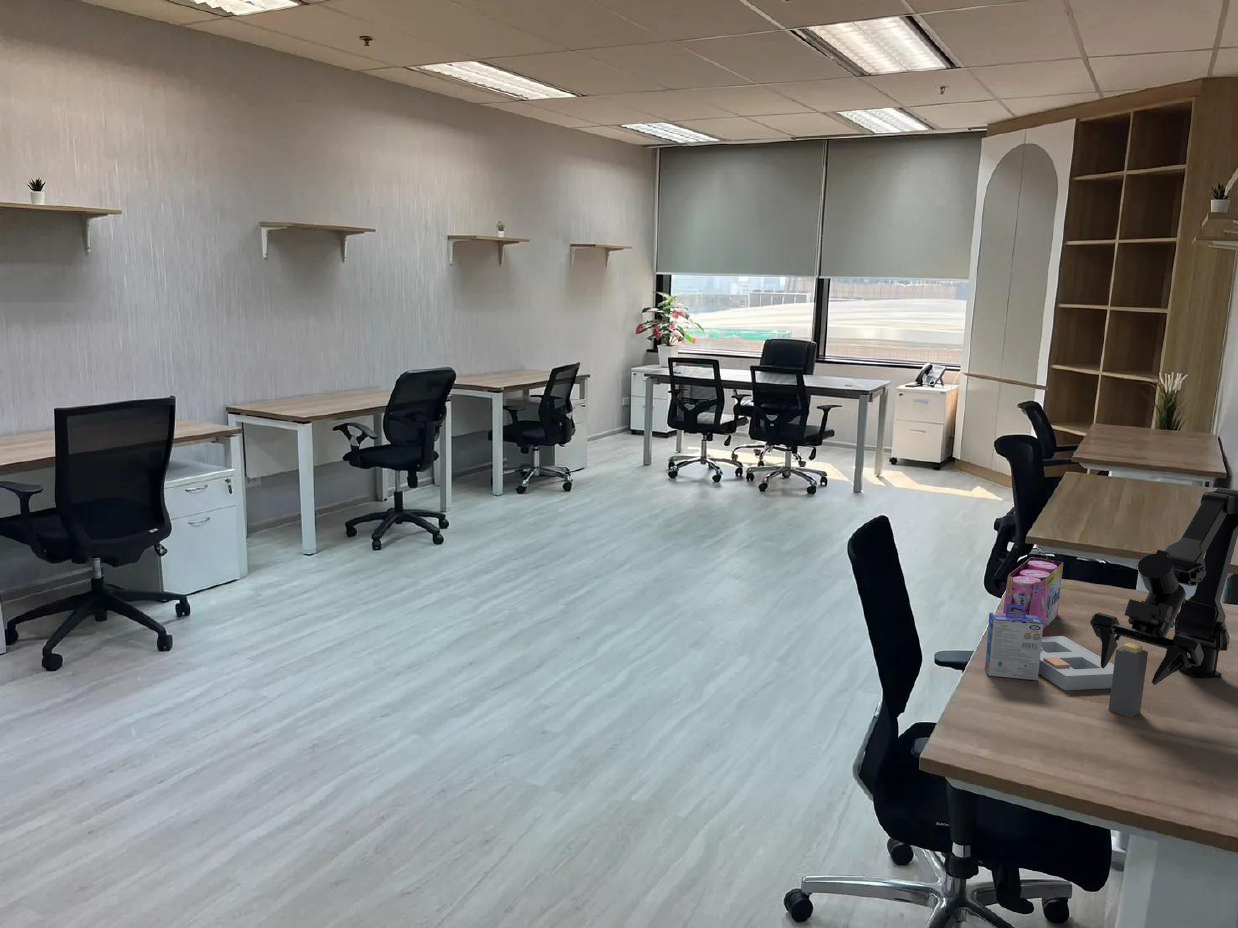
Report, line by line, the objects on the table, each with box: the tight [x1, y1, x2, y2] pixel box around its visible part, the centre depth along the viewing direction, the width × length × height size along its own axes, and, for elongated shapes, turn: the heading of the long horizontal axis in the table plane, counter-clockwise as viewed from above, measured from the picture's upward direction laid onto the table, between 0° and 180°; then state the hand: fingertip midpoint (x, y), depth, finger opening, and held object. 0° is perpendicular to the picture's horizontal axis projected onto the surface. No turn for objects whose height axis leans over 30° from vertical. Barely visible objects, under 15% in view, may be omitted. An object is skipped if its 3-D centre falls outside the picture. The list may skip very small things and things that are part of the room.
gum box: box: [1002, 556, 1064, 630], centre depth 221 cm, size 24×8×14 cm, turn 143°
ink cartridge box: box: [984, 604, 1044, 681], centre depth 190 cm, size 10×6×14 cm, turn 79°
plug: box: [1108, 642, 1149, 718], centre depth 173 cm, size 4×4×13 cm
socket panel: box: [1038, 635, 1114, 691], centre depth 194 cm, size 14×21×4 cm, turn 9°
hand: (1127, 675), depth 173 cm, fingers open, 9 cm apart
